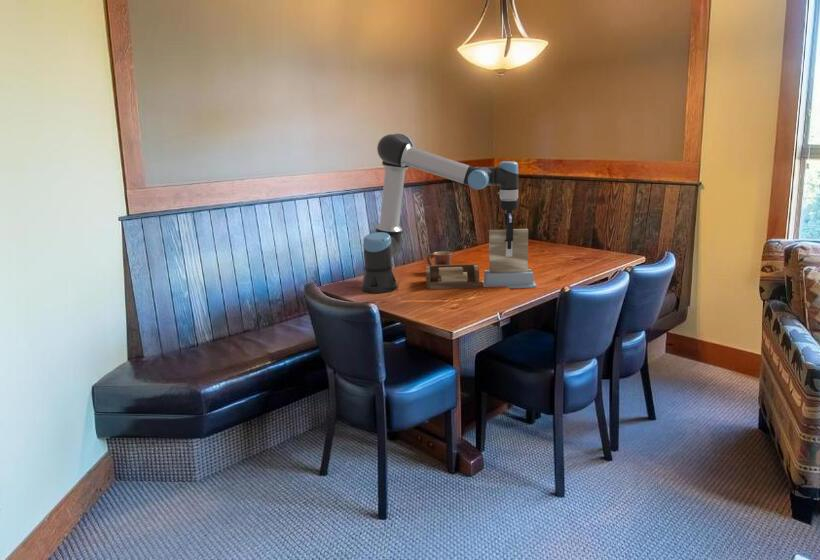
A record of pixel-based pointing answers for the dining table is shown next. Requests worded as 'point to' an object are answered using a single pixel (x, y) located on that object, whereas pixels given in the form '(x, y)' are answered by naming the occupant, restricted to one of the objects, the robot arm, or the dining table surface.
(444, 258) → the mug
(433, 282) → the rack
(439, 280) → the offcut low
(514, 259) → the birch board
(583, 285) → the dining table surface
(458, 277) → the offcut mid
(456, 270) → the offcut top
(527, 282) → the slotted stand
